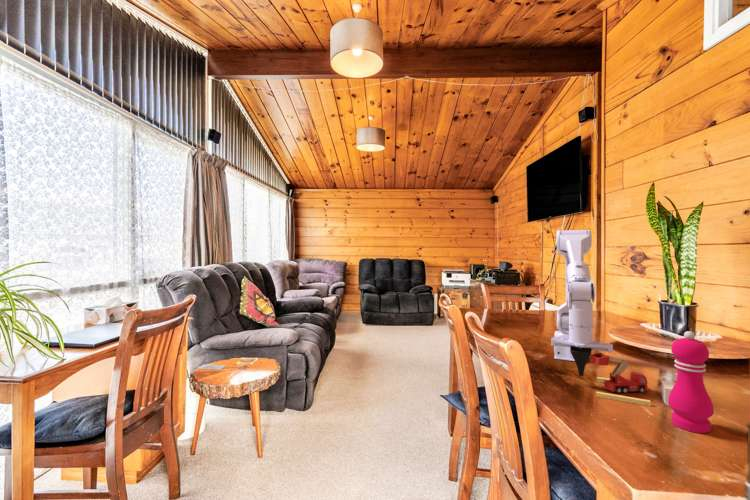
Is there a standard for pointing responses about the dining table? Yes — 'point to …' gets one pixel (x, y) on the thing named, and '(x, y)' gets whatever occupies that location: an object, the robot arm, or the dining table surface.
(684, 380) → the pepper mill
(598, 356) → the toy fire truck
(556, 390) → the dining table surface
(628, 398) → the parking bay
